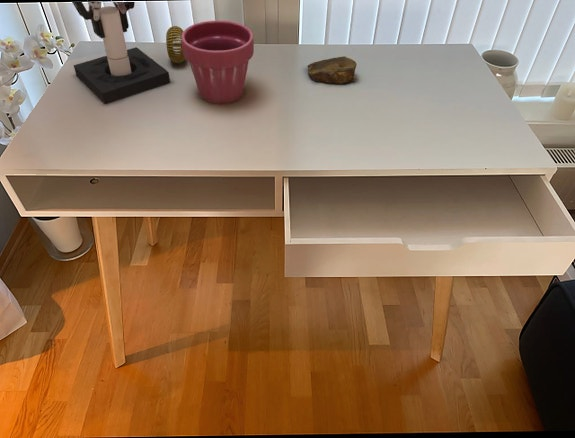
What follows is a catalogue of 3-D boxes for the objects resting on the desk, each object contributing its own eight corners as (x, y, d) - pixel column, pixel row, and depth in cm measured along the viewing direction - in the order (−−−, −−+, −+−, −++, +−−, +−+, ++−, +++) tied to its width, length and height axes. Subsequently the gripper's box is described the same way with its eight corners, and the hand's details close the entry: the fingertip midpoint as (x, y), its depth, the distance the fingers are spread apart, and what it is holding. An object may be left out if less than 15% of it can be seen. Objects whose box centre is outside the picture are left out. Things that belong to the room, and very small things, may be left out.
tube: (123, 85, 110) (107, 16, 100) (108, 80, 112) (91, 11, 101) (136, 77, 113) (123, 9, 102) (122, 72, 114) (107, 4, 104)
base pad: (105, 104, 105) (102, 93, 103) (76, 75, 113) (73, 65, 111) (170, 82, 112) (168, 71, 110) (138, 57, 120) (136, 47, 118)
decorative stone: (310, 86, 112) (311, 71, 109) (305, 65, 118) (305, 51, 116) (357, 84, 112) (359, 69, 110) (349, 64, 119) (351, 49, 117)
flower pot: (266, 101, 107) (265, 41, 98) (203, 117, 102) (196, 56, 93) (238, 71, 116) (235, 14, 107) (179, 85, 111) (170, 26, 102)
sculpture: (171, 53, 121) (166, 20, 116) (188, 53, 122) (184, 19, 116) (168, 69, 116) (163, 35, 110) (186, 69, 116) (182, 34, 110)
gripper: (119, -69, 99) (135, 19, 111) (45, -56, 92) (71, 36, 104) (137, -59, 95) (152, 31, 106) (61, -46, 88) (86, 49, 100)
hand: (112, 33), depth 105 cm, fingers closed on tube, 4 cm apart
